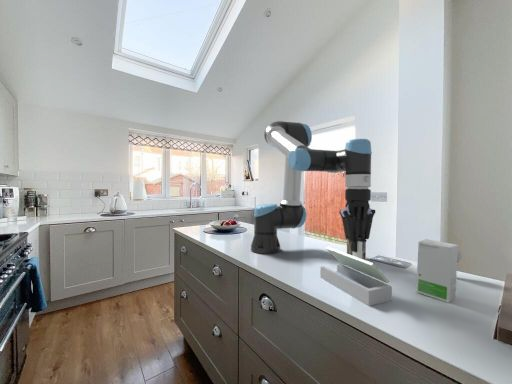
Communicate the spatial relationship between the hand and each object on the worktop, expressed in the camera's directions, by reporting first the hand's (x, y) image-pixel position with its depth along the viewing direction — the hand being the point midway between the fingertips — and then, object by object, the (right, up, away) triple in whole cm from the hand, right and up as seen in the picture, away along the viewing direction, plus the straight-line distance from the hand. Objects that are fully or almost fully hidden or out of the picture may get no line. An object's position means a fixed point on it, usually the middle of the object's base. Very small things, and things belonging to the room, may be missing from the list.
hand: (357, 261), depth 75 cm
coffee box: (+12, -8, +29) cm, 32 cm away
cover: (-1, -1, 0) cm, 2 cm away
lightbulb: (+37, -8, +8) cm, 39 cm away
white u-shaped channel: (-2, -8, -1) cm, 8 cm away
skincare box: (+21, -8, -6) cm, 23 cm away
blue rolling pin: (-3, -8, 0) cm, 8 cm away
